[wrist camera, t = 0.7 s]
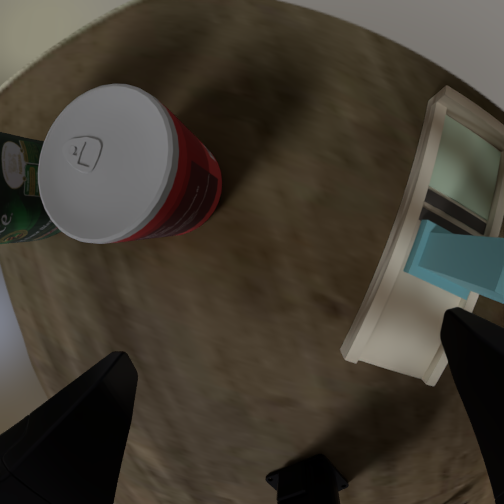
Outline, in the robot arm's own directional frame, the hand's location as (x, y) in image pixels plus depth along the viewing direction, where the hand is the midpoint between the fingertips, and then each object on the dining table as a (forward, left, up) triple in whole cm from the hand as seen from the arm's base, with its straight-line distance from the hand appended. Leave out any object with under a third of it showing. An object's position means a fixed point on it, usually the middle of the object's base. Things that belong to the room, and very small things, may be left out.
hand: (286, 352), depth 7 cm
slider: (-6, -11, -14) cm, 18 cm away
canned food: (+10, +3, -15) cm, 19 cm away
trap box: (-5, -12, -15) cm, 20 cm away
